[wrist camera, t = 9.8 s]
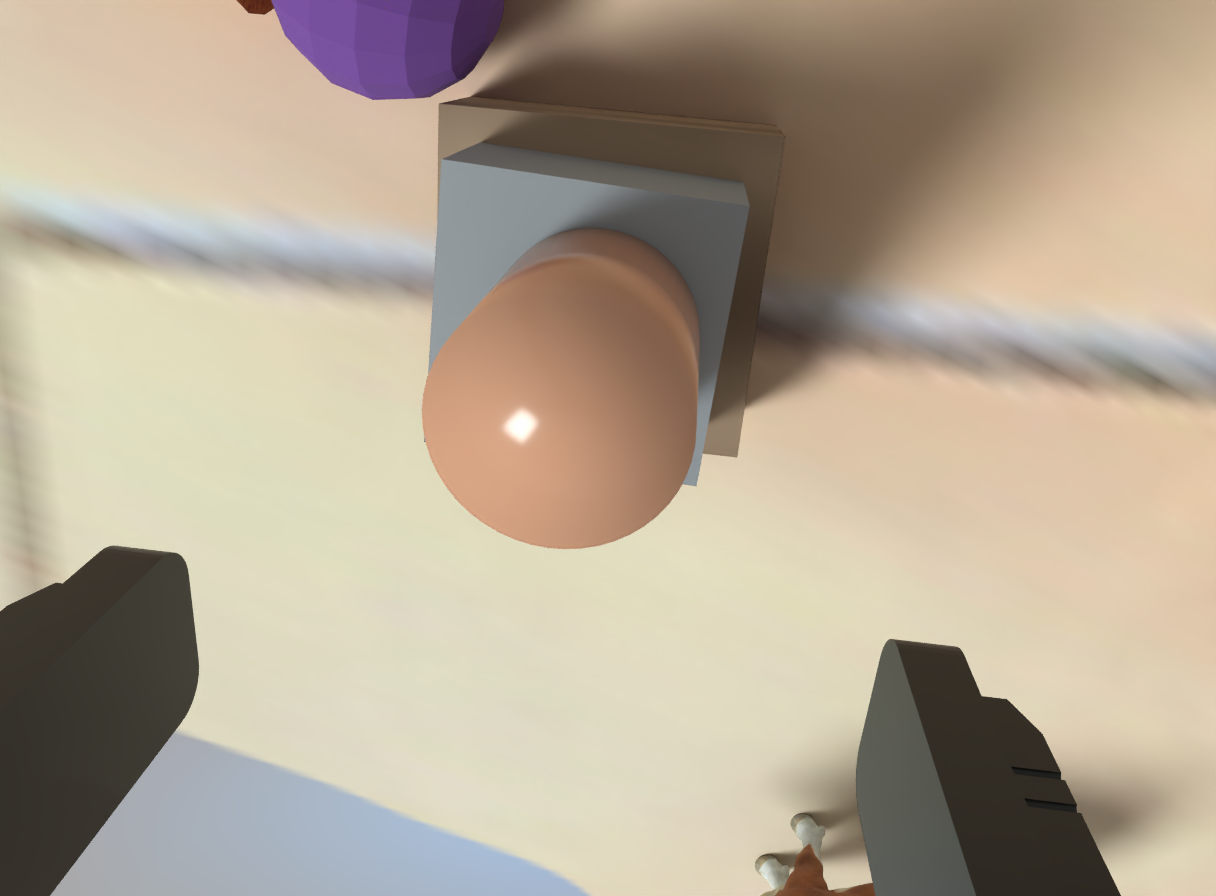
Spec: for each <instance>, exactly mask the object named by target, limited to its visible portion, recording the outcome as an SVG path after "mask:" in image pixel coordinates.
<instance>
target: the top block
mask: <svg viewBox="0 0 1216 896" xmlns="http://www.w3.org/2000/svg"><path fill="white" fill-rule="evenodd" d="M749 207H750V205H749V201H748V197H747V193H746V189H745V185H744V182H740V181H733V180H726V179H720V178H713V177H707V176H700V175H693V174H687V173H680V172H674V171H667V170H660V169H654V168H647V167H641V166H634V165H627V164H621V163H614V162H608V161H601V160H594V159H588V158H581V157H575V156H568V155H561V154H555V153H548V152H542V151H535V150H528V149H522V148H515V147H509V146H502V145H495V144H489V143H482V142H480V143H478V144H475V145H473V146H471V147H468V148H466V149H464V150H461V151H459V152H457V153H454V154H452V155H450V156H448V157H445V158H443V159H441V175H440V191H439V208H438V224H437V240H436V257H435V273H434V289H433V306H432V322H431V338H430V355H429V371H428V374H429V372H430V369H431V367H432V364H433V362H434V360H435V358H436V356H437V355H438V353H439V351H440V349H441V348H442V346H443V345H444V344H445V342H446V341H447V340H448V339H449V337H450V336H451V335H452V333H453V332H454V331H455V330H456V329H457V328H458V327H459V325H460V324H461V323H462V322H463V321H464V320H465V319H466V317H467V316H468V315H469V314H470V313H471V312H472V311H473V309H474V308H475V307H476V306H477V305H478V304H479V303H480V302H481V300H482V299H483V298H484V297H485V296H486V295H487V294H488V292H489V291H490V290H491V289H492V288H493V287H494V286H495V284H496V283H497V282H498V281H499V280H500V279H501V278H502V276H503V275H504V274H505V273H506V272H507V271H508V270H509V268H510V267H511V266H512V265H513V264H514V263H515V262H516V261H517V260H518V259H519V258H520V257H521V256H522V255H523V254H524V253H525V252H526V251H527V250H529V249H530V248H531V247H533V246H534V245H535V244H537V243H539V242H541V241H542V240H544V239H546V238H548V237H550V236H553V235H556V234H558V233H561V232H565V231H569V230H574V229H581V228H605V229H610V230H616V231H620V232H623V233H626V234H629V235H632V236H634V237H637V238H639V239H641V240H643V241H645V242H647V243H648V244H650V245H651V246H653V247H654V248H656V249H657V250H659V251H660V252H661V253H662V254H663V255H664V256H666V257H667V258H668V259H669V260H670V261H671V262H672V263H673V265H674V266H675V267H676V268H677V269H678V270H679V272H680V273H681V275H682V276H683V278H684V279H685V281H686V283H687V285H688V286H689V288H690V290H691V292H692V295H693V298H694V301H695V304H696V306H697V311H698V316H699V325H700V348H699V376H698V404H697V430H696V443H695V449H694V454H693V458H692V462H691V465H690V468H689V470H688V473H687V476H686V478H685V480H684V481H683V483H682V484H685V485H691V486H697V480H698V475H699V470H700V465H701V459H702V454H703V449H704V444H705V438H706V433H707V428H708V422H709V417H710V412H711V407H712V401H713V396H714V391H715V386H716V380H717V375H718V370H719V365H720V359H721V354H722V349H723V344H724V338H725V333H726V328H727V323H728V317H729V312H730V307H731V302H732V296H733V291H734V286H735V281H736V275H737V270H738V265H739V260H740V254H741V249H742V244H743V238H744V233H745V228H746V223H747V217H748V212H749ZM424 442H426V441H425V436H424Z"/></svg>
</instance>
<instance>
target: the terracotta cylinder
mask: <svg viewBox="0 0 1216 896" xmlns="http://www.w3.org/2000/svg"><path fill="white" fill-rule="evenodd" d="M699 348H700V325H699V316H698V311H697V306H696V304H695V301H694V298H693V295H692V292H691V290H690V288H689V286H688V285H687V283H686V281H685V279H684V278H683V276H682V275H681V273H680V272H679V270H678V269H677V268H676V267H675V266H674V265H673V263H672V262H671V261H670V260H669V259H668V258H667V257H666V256H664V255H663V254H662V253H661V252H660V251H659V250H657V249H656V248H654V247H653V246H651V245H650V244H648V243H647V242H645V241H643V240H641V239H639V238H637V237H634V236H632V235H629V234H626V233H623V232H620V231H616V230H610V229H605V228H581V229H574V230H569V231H565V232H561V233H558V234H556V235H553V236H550V237H548V238H546V239H544V240H542V241H541V242H539V243H537V244H535V245H534V246H533V247H531V248H530V249H529V250H527V251H526V252H525V253H524V254H523V255H522V256H521V257H520V258H519V259H518V260H517V261H516V262H515V263H514V264H513V265H512V266H511V267H510V268H509V270H508V271H507V272H506V273H505V274H504V275H503V276H502V278H501V279H500V280H499V281H498V282H497V283H496V284H495V286H494V287H493V288H492V289H491V290H490V291H489V292H488V294H487V295H486V296H485V297H484V298H483V299H482V300H481V302H480V303H479V304H478V305H477V306H476V307H475V308H474V309H473V311H472V312H471V313H470V314H469V315H468V316H467V317H466V319H465V320H464V321H463V322H462V323H461V324H460V325H459V327H458V328H457V329H456V330H455V331H454V332H453V333H452V335H451V336H450V337H449V339H448V340H447V341H446V342H445V344H444V345H443V346H442V348H441V349H440V351H439V353H438V355H437V356H436V358H435V360H434V362H433V364H432V367H431V369H430V372H429V374H428V377H427V381H426V385H425V390H424V394H423V405H422V419H423V430H424V435H425V441H426V445H427V448H428V451H429V454H430V457H431V460H432V462H433V464H434V466H435V468H436V470H437V472H438V474H439V476H440V478H441V479H442V481H443V482H444V484H445V485H446V487H447V489H448V490H449V491H450V492H451V493H452V495H453V496H454V497H455V498H456V499H457V501H458V502H459V503H460V504H461V505H462V506H463V507H464V508H466V509H467V510H468V511H469V512H470V513H471V514H472V515H473V516H475V517H476V518H477V519H479V520H480V521H481V522H483V523H484V524H486V525H487V526H489V527H491V528H492V529H494V530H496V531H498V532H499V533H502V534H504V535H506V536H508V537H511V538H513V539H515V540H518V541H522V542H525V543H528V544H531V545H536V546H542V547H547V548H558V549H578V548H587V547H593V546H599V545H603V544H606V543H610V542H613V541H616V540H618V539H621V538H623V537H625V536H628V535H630V534H632V533H633V532H635V531H637V530H638V529H640V528H642V527H643V526H645V525H646V524H647V523H649V522H650V521H651V520H653V519H654V518H655V517H656V516H658V515H659V513H660V512H661V511H662V510H663V509H664V508H665V507H666V506H667V505H668V504H669V503H670V502H671V500H672V499H673V498H674V496H675V495H676V494H677V492H678V491H679V489H680V487H681V485H682V483H683V481H684V480H685V478H686V476H687V473H688V470H689V468H690V465H691V462H692V458H693V454H694V449H695V443H696V430H697V404H698V376H699Z"/></svg>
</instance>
